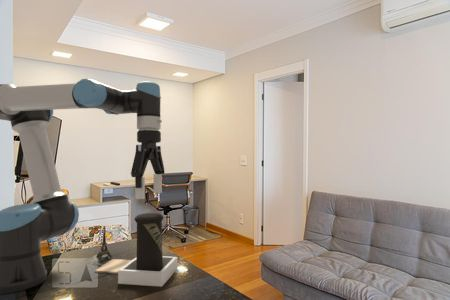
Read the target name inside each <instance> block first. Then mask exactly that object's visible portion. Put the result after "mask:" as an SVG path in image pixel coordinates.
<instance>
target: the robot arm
mask: <svg viewBox="0 0 450 300" xmlns="http://www.w3.org/2000/svg"><path fill="white" fill-rule="evenodd" d="M161 98H162V97H161V88H160V85H159V84H158V83H156V82H155V81H154V82H153V81H141V82H140V81H139V82H138V83H137V84H136V88H135V89H133V90H120V89H118V88H116V87H112V86H110V85H107V84H104V83H103V82H100V81H99V80H95V79H90V78H83V79H82V78H81V79H80V80H78V81H77V82H76V83H74V82H73V83H59V84H40V85H23V86H22V85H21V86H15V85H14V84H11V83H0V120H2V121H8V122H9V121H10V125H11V129H12V130H13V131H14V132H16V133H18V135H19V136H18V137H19V140H20V144H21V149H22V152H23V157H24V162H25V166H26V171H27V174H28V175H27V176H28V179H29V182H30V187H31V191H32V195H33V199H32V200H31V202H30V203H23V204H22V203H21V204H16V205H13V206H9V207H5V208H3V209H0V295H2V294H12V293H17V292H22V291H25V290H27V289H31V288H34V287H36V286H38V285H40V284H42V283H44V282H45V281H46V280H47V278H48V268H47V267H46V265H45V262H44V259H43V257H42V252H41V251H42V250H41V249H42V246H41V245H42V243H41V242H45V241H47V240H50V239H53V238H56V237H60V236H62V235H65V234H66V233H69V232H71V231H72V230H73V229H74V228H76V224H77V223H78V222H79V216H80V211H79V208H78V206H77V204H76V203H74V202H73V201H71V200H69V198H68V194H67V193H65V192H63V191H62V188H61V185H60V179H59V177H58V173H57V169H56V168H57V167H56V165H55V164H56V163H55V160H54V156H53V153H52V148H51V144H50V140H49V136H48V131H47V129H48V128H49V127H50V126H51V125H50V121H51V120H52V119H53V115H54V110H71V109H72V110H73V109H74V110H77V109H98V110H102V111H104V112H105V113H106V114H107V115H117V116H118V115H124V114H136V129H137V132H136V142H137V143H140V144H136V145H135V154H134V158H133V162H132V167H131V170H130V175H131V178H134V183H135V184H134V188H135V189H134V191H135V192H134V196H135V197H134V199H135V200H145V198H146V195H145V194H146V191H145V190H146V189H145V187H146V186H145V185H146V184H145V183H146V182H145V176H144V174H145V171H146V168H147V165H148V163H149V162H150V164H151V166H152V169H153V171H154V174H153V194H163V184H162V183H163V179H162V176H163V175H164V174H165V167H164V161H163V157H162V151H161V150H162V148H161V145H157V144H159V143H161V141H162V138H161V137H162V132H161V131H160V130H161V129H162V128H161V125H162V119H161Z"/></svg>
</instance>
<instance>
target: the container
mask: <svg viewBox="0 0 450 300" xmlns="http://www.w3.org/2000/svg"><path fill="white" fill-rule="evenodd" d="M163 219H164V215H163V214H161V213H159V212H144V213H141V214H137V215H136V216H135V217H134V221H135V223H136V257H137V264H136V270H144V271H161V270H162V269H163V257H162V256H163V234H162V233H163V231H162V230H163V225H162V221H163Z"/></svg>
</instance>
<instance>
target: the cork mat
mask: <svg viewBox="0 0 450 300" xmlns="http://www.w3.org/2000/svg"><path fill="white" fill-rule="evenodd" d="M132 260H133V259H121V258H119V259H117V258H112V259H109V261H107V262H105V263H103V265H100V266H99V267H98V268H97V269H95V270H94V273H102V274H115V275H116V274H117V275H118V270H119V269H121V268H122V267H123V266H125V265H126V264H128V263H129V262H130V261H132Z"/></svg>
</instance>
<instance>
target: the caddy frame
mask: <svg viewBox="0 0 450 300" xmlns="http://www.w3.org/2000/svg"><path fill="white" fill-rule="evenodd" d="M162 257H163V269H162V270H161V271H144V270H136V264H137V256H135V258H133V259H131V260H132V261H130V262H129V263H128V264H126V265H125V266H123V267H122V268H121V269H119V270H118V274H117V284H119V285H130V286H131V285H132V286H133V285H134V286H148V287H163V286H164V285H165V284H166V283H167V282H168V280H169V279H170V278H171V277H172V276H173V275H174V273H175V272H176V271H177V270H178V269H177V268H178V257H177V256H170V255H169V256H167V255H162Z"/></svg>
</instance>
